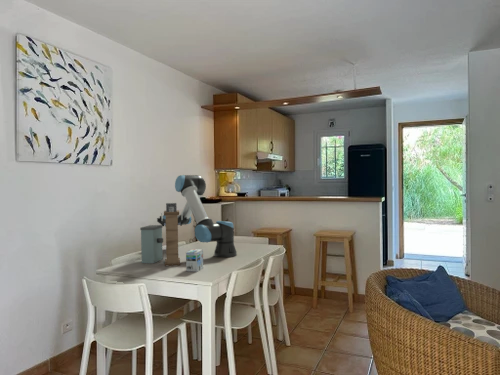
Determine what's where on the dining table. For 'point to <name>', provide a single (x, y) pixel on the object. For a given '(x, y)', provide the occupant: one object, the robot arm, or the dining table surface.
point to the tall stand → (172, 238)
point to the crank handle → (171, 207)
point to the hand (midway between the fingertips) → (171, 214)
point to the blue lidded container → (151, 243)
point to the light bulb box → (194, 260)
